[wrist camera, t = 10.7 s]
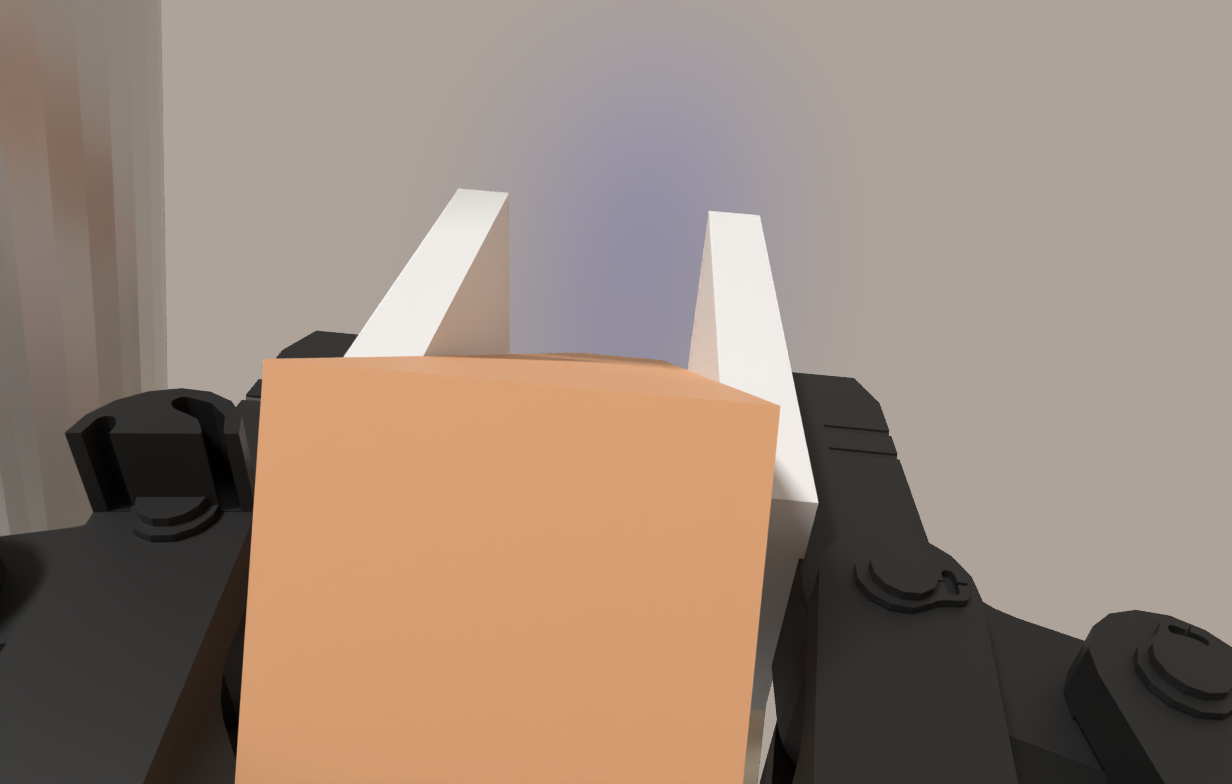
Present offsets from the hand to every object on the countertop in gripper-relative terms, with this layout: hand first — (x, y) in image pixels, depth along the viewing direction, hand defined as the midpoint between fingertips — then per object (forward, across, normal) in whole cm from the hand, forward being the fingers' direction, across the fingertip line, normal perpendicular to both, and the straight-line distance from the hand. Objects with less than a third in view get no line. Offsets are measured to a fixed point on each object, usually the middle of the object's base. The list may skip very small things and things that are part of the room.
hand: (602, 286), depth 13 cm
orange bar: (+2, 0, -6) cm, 6 cm away
